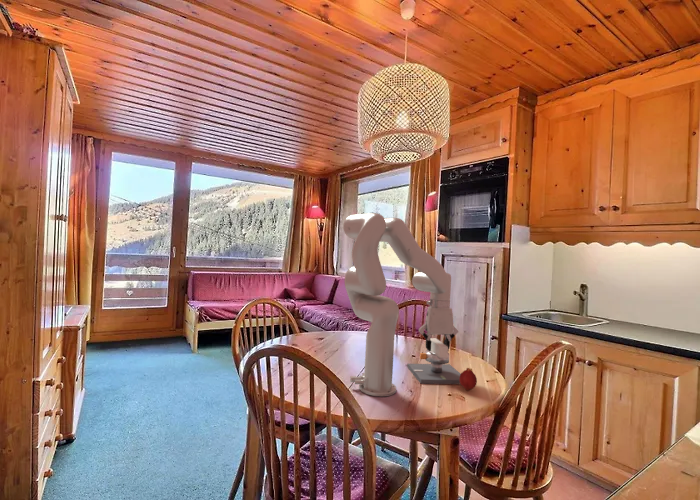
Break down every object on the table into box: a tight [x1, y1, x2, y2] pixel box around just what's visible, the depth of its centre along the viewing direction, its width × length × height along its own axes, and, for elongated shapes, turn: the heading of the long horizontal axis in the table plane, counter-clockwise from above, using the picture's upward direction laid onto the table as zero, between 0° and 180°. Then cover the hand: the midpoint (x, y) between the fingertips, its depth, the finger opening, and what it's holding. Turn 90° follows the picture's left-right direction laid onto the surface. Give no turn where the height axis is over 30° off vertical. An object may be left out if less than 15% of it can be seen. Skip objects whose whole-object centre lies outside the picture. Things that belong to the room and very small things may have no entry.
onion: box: [459, 367, 478, 392], centre depth 125 cm, size 6×6×8 cm
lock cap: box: [419, 337, 450, 364], centre depth 139 cm, size 11×13×7 cm
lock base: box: [406, 362, 462, 385], centre depth 139 cm, size 18×18×6 cm
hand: (437, 349), depth 139 cm, fingers open, 6 cm apart
